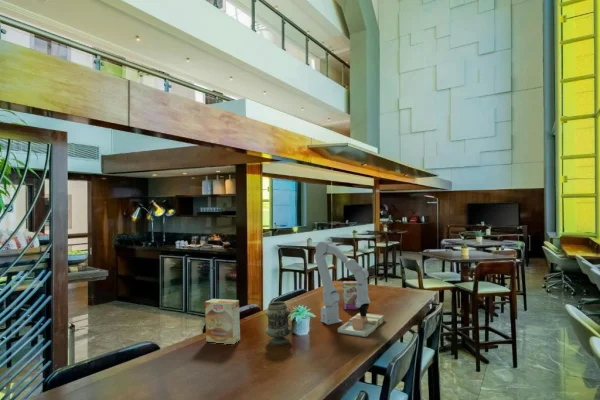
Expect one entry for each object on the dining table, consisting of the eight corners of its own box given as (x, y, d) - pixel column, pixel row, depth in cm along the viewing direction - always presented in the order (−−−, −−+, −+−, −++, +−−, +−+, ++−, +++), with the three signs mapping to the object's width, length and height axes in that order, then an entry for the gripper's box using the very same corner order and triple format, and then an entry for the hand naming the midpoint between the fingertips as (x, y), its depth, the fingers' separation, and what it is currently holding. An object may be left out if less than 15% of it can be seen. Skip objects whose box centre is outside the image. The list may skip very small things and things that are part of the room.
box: (366, 337, 175) (366, 332, 175) (337, 332, 183) (337, 328, 183) (375, 329, 186) (375, 325, 186) (348, 325, 194) (348, 321, 194)
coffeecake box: (205, 342, 176) (204, 301, 176) (214, 337, 182) (212, 298, 183) (233, 345, 170) (231, 303, 171) (240, 340, 177) (239, 299, 178)
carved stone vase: (280, 335, 181) (278, 299, 182) (297, 341, 173) (295, 302, 173) (260, 342, 173) (259, 304, 173) (277, 348, 164) (276, 308, 165)
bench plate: (374, 328, 186) (374, 322, 186) (349, 325, 194) (349, 319, 194) (384, 320, 199) (384, 315, 199) (360, 317, 206) (359, 312, 206)
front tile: (363, 328, 186) (361, 329, 184) (354, 327, 188) (352, 328, 186) (363, 318, 186) (361, 319, 184) (354, 317, 189) (352, 318, 187)
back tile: (363, 323, 186) (363, 320, 186) (354, 322, 189) (354, 318, 189) (367, 320, 190) (367, 316, 190) (358, 319, 193) (358, 315, 193)
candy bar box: (343, 310, 223) (342, 282, 224) (343, 307, 228) (342, 281, 229) (362, 309, 222) (360, 282, 223) (361, 307, 227) (360, 281, 228)
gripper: (364, 295, 185) (365, 322, 184) (374, 289, 197) (375, 315, 197) (351, 294, 188) (352, 321, 188) (362, 288, 201) (363, 313, 200)
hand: (363, 318), depth 192 cm, fingers closed
